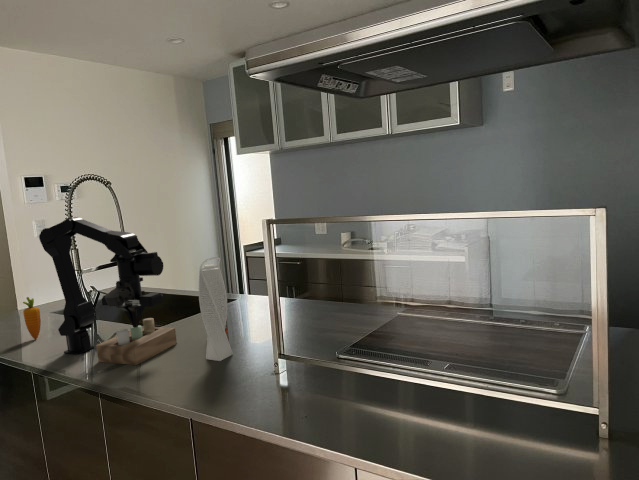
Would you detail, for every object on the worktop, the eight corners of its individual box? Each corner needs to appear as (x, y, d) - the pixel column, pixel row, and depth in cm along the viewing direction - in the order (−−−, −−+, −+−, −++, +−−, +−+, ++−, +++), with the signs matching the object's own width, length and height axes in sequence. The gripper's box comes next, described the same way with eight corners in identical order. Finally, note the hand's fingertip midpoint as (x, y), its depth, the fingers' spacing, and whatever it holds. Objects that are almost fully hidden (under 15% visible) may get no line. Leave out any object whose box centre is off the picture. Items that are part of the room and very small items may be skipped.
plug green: (130, 347, 151) (127, 328, 150) (137, 344, 154) (135, 325, 153) (138, 348, 150) (136, 328, 149) (146, 344, 153) (143, 325, 152)
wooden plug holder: (98, 361, 147) (96, 345, 146) (141, 341, 163) (139, 326, 162) (136, 364, 141) (134, 347, 141) (176, 343, 158) (175, 328, 157)
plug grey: (116, 352, 146) (113, 331, 145) (124, 348, 149) (122, 328, 148) (125, 352, 145) (122, 332, 144) (133, 348, 148) (130, 328, 147)
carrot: (42, 339, 174) (36, 297, 172) (26, 342, 172) (19, 299, 171) (44, 336, 179) (38, 294, 177) (28, 338, 177) (22, 297, 175)
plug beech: (142, 339, 156) (140, 320, 155) (149, 336, 159) (147, 317, 158) (151, 340, 155) (148, 321, 154) (158, 336, 158) (155, 318, 157)
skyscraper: (219, 350, 148) (209, 256, 144) (239, 353, 144) (229, 256, 140) (200, 359, 141) (189, 261, 138) (220, 363, 137) (209, 262, 134)
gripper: (83, 281, 145) (91, 334, 147) (134, 282, 138) (141, 337, 140) (112, 274, 156) (119, 322, 158) (161, 273, 149) (167, 325, 151)
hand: (135, 327), depth 151 cm, fingers closed, pressing on plug green
